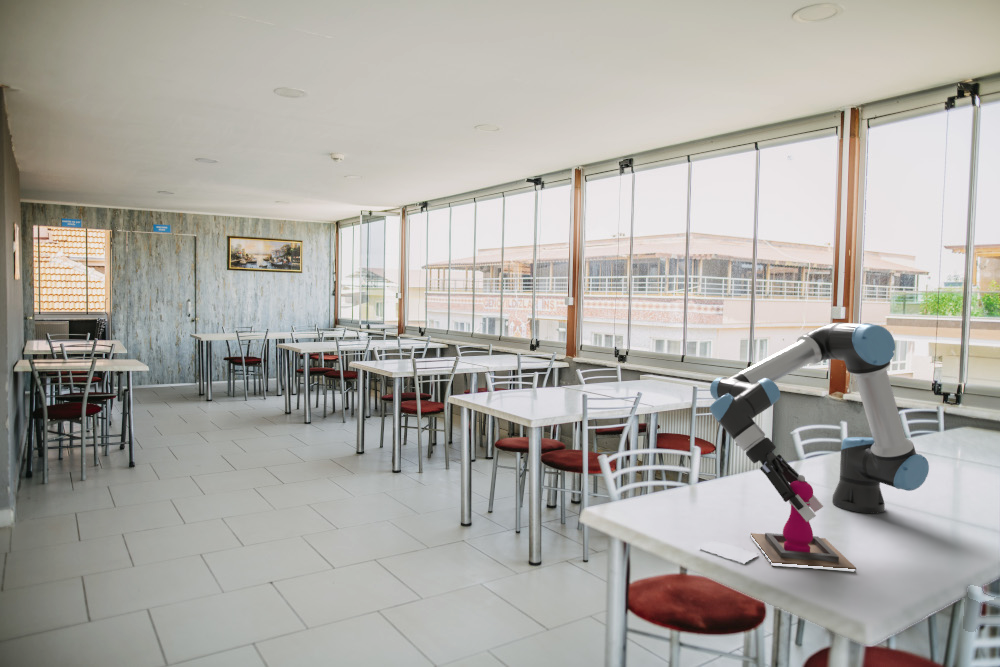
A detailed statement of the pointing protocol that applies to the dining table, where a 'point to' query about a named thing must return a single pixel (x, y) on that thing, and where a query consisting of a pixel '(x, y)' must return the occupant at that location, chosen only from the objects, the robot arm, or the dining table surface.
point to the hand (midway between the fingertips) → (815, 513)
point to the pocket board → (818, 555)
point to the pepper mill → (798, 520)
